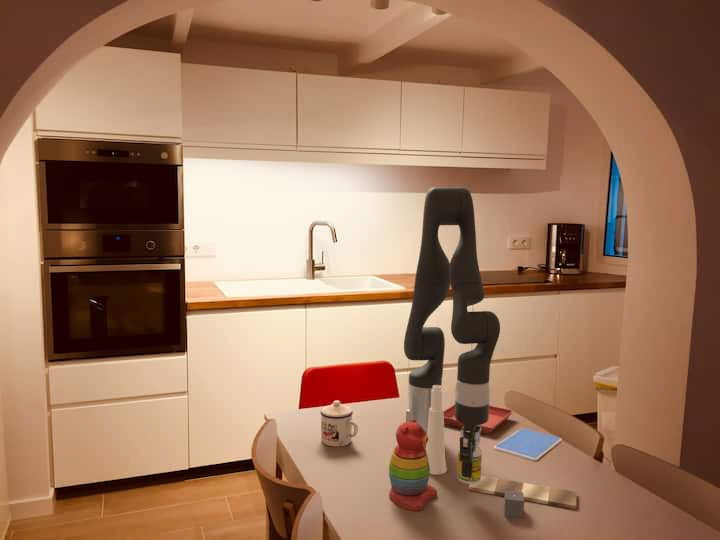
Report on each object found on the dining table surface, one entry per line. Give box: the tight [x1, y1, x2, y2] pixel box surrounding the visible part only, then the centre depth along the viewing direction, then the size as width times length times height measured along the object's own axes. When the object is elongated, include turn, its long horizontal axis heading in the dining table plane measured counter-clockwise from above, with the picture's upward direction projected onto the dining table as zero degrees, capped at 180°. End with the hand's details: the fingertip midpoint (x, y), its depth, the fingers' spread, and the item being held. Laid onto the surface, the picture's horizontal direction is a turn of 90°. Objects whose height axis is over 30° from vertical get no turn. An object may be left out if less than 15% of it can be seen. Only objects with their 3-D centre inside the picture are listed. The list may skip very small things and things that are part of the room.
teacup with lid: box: [320, 400, 359, 447], centre depth 166 cm, size 12×9×12 cm
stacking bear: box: [388, 419, 438, 512], centre depth 135 cm, size 11×10×18 cm
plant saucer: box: [444, 403, 514, 435], centre depth 183 cm, size 18×18×3 cm
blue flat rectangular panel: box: [494, 427, 562, 462], centre depth 167 cm, size 19×13×1 cm, turn 141°
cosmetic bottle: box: [425, 385, 448, 476], centre depth 148 cm, size 6×6×22 cm
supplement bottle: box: [456, 439, 483, 485], centre depth 133 cm, size 5×5×10 cm
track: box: [468, 475, 577, 510], centre depth 138 cm, size 24×7×1 cm, turn 69°
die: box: [503, 491, 525, 519], centre depth 129 cm, size 4×4×4 cm
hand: (469, 470), depth 133 cm, fingers closed on supplement bottle, 5 cm apart
